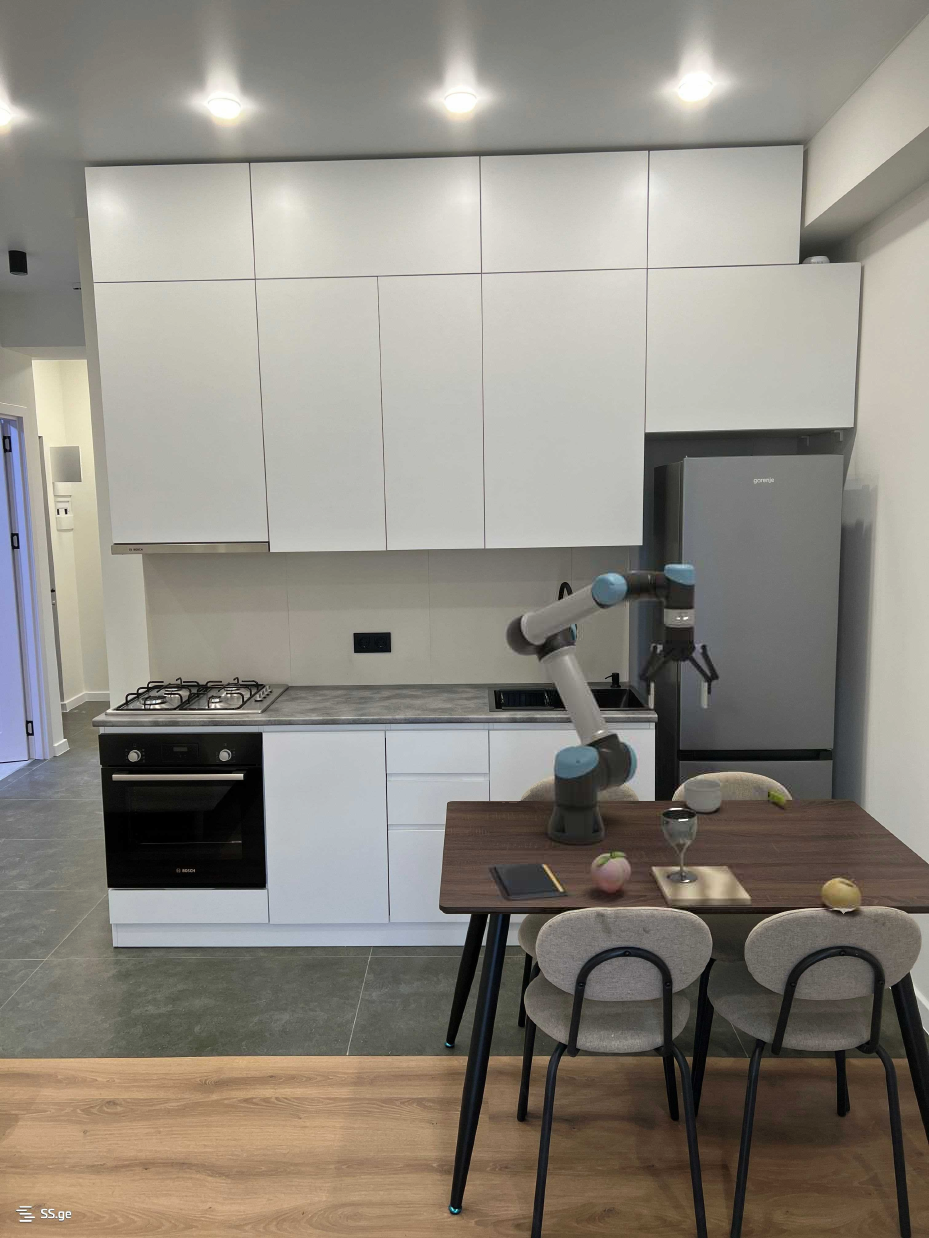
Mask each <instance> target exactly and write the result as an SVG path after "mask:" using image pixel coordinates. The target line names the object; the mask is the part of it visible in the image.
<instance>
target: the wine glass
mask: <svg viewBox="0 0 929 1238" xmlns="http://www.w3.org/2000/svg"><path fill="white" fill-rule="evenodd" d="M660 815H661V825H662V826H661V827H662V830H663V834H664V836H665V839H666V840H667V842H669V843H670V844H671V846H672V847H673V848H674V849H675V850H676V852H677V855H678V860H679V867H680V870H673V871H670V872H668V873H667V875H666V876H667V878H668V879H670V880H672V881H675V882H691V881H694V880H696V879H697V878H698V875H697V874H696V873H695V872H692V871H689V870H684V869H683V867H684V856H685V852H686V850H687V848H688V847H689V846H690V845H691V843H692V842H693V841H694V840H695V837H696V832H697V827H698V819H697V818H698V817H697V813H696V811H694V810H692V809H690V808H689V809H688V808H682V807H681V808H679V807H678V808H676V807H675V808H669V809H665V810H663V811H662V812H661V814H660Z"/></svg>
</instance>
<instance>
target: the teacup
mask: <svg viewBox="0 0 929 1238" xmlns="http://www.w3.org/2000/svg"><path fill="white" fill-rule="evenodd" d="M683 787H684V800H685V803H686V805H687V807H688V808H689V809H690V810H692V811H694V812H697V813H711V812H712V813H713V812H715V810H717V809H718V808H720V806H721V804H722V802H723V801H722V800H723V799H722V798H723V792H722V791H723V789H722V788H723V784H722V782H721V781H720V780H719V781H718V780H716V779H712V778H700V777H699V776H696V777H694V778H693V779H688V780H686V781H685V782H684V783H683Z"/></svg>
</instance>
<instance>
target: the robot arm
mask: <svg viewBox="0 0 929 1238" xmlns="http://www.w3.org/2000/svg"><path fill="white" fill-rule="evenodd" d="M695 572H696V570H695V567H694V566H693V565H691V564H679V563H677V564H675V563H674V564H667V565H665V566H664V570H663V571H650V570H649V571H648V570H641V569H640V570H631V571H629V572H617V573H616V572H609V573H606V574H602V575H599V576H597V577H596V578H595V580H594V581H593V583H592V584H590V585H588V586H586V587H583V588H582V589H579V590H578V591H576V592H574V593H571V594H569V595H568V596H565V597H564V598H562V599H560V600H558V601H556V602H554V603H552V604H550V605H547V606H546V607H544V608H541V609H540V610H538V611H536V612H533V611H529V612H526V613H524V614H522V615H520V616H517V617H516V618H514V619H513V620H511V621H510V623H509V624H508V625H507V628H506V630H505V639H506V643H507V645H508V646H509V648H510V649H511V650H512V651H513V652H514V653H516V654H518V655H521V656H526V657H528V656H529V657H531V656H536V658H537V660H538V662H539V664H540V666H543V667H545V668H547V669H548V672H549V675H550V677H551V679H552V680H553V682H554V685H555V687H556V689H557V692H558V693H559V696H560V699H561V700H562V703H563V705H564V707H565V709H566V711H567V714H568V716H569V719H570V720H571V722H572V725H573V727H574V730H575V731H576V733H577V736H578V738H579V740H580V745H577V746H569V747H565V748H563V749H561V750H559V751H558V752H557V753H556V755H555V758H554V766H553V771H554V774H553V775H554V779H553V780H554V783H553V785H554V806H553V811H552V813H551V817H550V820H549V821H548V825H547V826H548V827H547V835H548V837H549V838H550V839H551V840H553V841H555V842H557V843H561V844H565V845H566V844H567V845H573V846H574V845H579V846H580V845H581V846H582V845H584V846H585V845H592V844H596V843H598V842H600V841H602V840H603V839H604V838H605V825H604V823H603V820H602V816H601V813H600V810H599V793H601V792H603V791H606V790H609V789H613V788H618V787H621V786H622V785H624V784H626V783H628V782H630V781H631V780H632V779H633V778H634V777H635V775H636V771H637V768H638V760H637V755H636V752H635V749H634V748H633V747H632V746H631V745H630V744H627V743H626V742H625V741H621V740H620V738H619V735H618V733H617V732H615V731H613V730H610V729H609V726H608V725H607V723H606V721H605V719H604V716H603V714H602V712H601V710H600V707H599V706H598V705H599V704H598V703H597V701H596V698H595V697H594V694H593V692H592V690H591V688H590V687H589V684H588V682H587V679H586V678H585V676H584V674H583V671H582V669H581V667H580V665H579V662H578V661H577V659H576V655H575V653H576V651H577V646H576V643H577V639H578V638H577V635H578V632H577V628H576V626H575V625H576V624H578V623H580V622H582V621H584V620H587V619H588V618H590V617H591V618H592V617H593V616H595V615H597V614H600V613H602V612H604V611H606V610H608V609H611V608H613V607H614V606H617V605H618V604H623V603H631V602H632V603H633V602H641V601H658V602H659V601H660V602H663V608H664V609H663V624H665V625H664V627H663V643H662V644H656V643H651V645H650V650H649V654H648V656H647V657H646V659H645V661H644V663H643V664H642V665H643V666H642V668H641V669H640V671H639V673H638V675H637V678H638V680H639V681H642V682H644V694H645V695H646V696H648V708H649V709H654V708H655V705H654V704H655V682H653V680H654V679H655V678H656V677H657V676H658V675H659V673H660V672H661V671H662V670H663V669H664V668H665V666H666V665H667V664H668V663H670V662H672V663H677V662H683V663H686V662H687V661H688V662H689V663H690V664H691V665H692V666H693V668H694V669H695V670H696V671H697V672H698V673H699V674H700V676H701V677H702V679H703V680H701V694H700V695H701V698H700V699H701V701H700V706H701V707H702V708H703V709H707V708H708V695H711V694H712V683H713V682H714V681H718V680H719V678H720V676H719V674H718V672H717V671H716V668H715V665H714V664H713V661H712V660H711V658H710V655H709V654H708V648H707V644H705V643H703V642H701V643H699V644H695V627H694V626H693V624H695V593H696V590H695V588H696V576H695V575H696V574H695ZM660 651H662V652H663V656H662V657H661V658H660V660H659V661H658V662H657V664H655V665H654V667H653V668H652V669H651V670H650V668H651V667H652V665H653V663H654V662H655V661H654V660H655V659H656V657H657V654H659V653H660ZM696 651H697V652H698V653H699V654H700V655H701V658H702V660H703V662H704V664H705V666H706V668H707V670H708V672H709V674H710V675H709V674H708V673H707V671H705V668H703V667H702V666H701V665H700V663H699V662H698V660H697V659H696V658H695V657H694V656H693V654H694V652H696ZM649 671H650V672H649Z"/></svg>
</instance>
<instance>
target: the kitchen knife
mask: <svg viewBox="0 0 929 1238" xmlns="http://www.w3.org/2000/svg"><path fill="white" fill-rule="evenodd" d="M756 785H757V788H756V787H755V786H753V785H752V787H753V789H754V790H755V791H756V792H757V793H759V794H761V795H762V796H763V797H765V798H766V799H768V800H769V802H770V803H775V802H780V805H786V803H787V799H786V797H784V796H783V795H780V794H779V793H777V792H775V791H772V790H769V789H766V788H764V787H762V786H760V785H759V784H756Z"/></svg>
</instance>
